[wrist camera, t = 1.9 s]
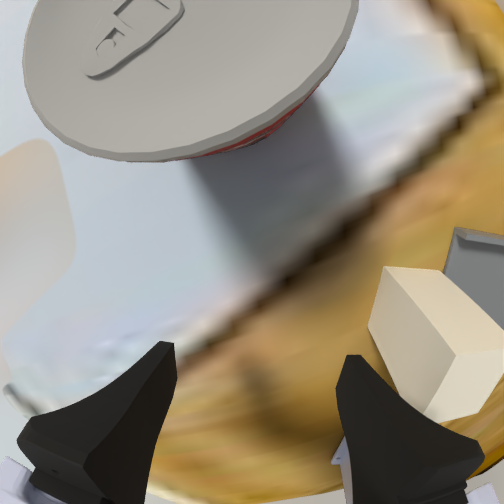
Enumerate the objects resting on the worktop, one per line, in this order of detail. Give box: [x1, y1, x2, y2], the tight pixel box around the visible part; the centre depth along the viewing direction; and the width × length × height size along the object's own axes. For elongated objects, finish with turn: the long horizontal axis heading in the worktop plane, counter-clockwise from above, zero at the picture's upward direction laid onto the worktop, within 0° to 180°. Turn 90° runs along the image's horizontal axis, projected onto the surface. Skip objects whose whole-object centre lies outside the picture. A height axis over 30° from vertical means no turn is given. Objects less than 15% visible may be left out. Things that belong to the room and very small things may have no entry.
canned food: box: [22, 0, 359, 162], centre depth 9 cm, size 8×8×11 cm
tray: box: [443, 227, 504, 330], centre depth 17 cm, size 11×12×2 cm
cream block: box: [367, 266, 504, 423], centre depth 14 cm, size 4×4×9 cm
